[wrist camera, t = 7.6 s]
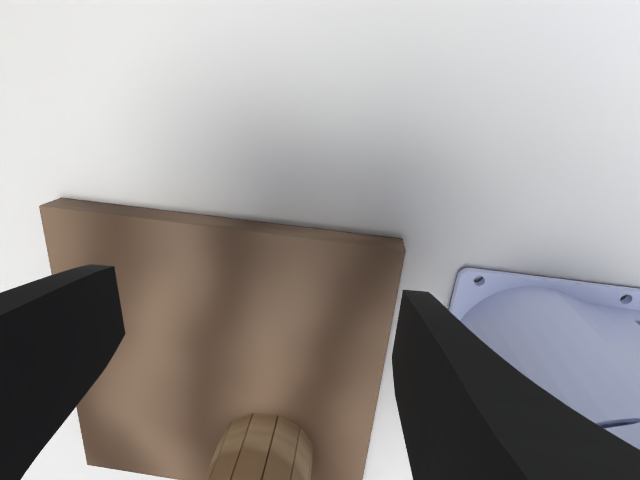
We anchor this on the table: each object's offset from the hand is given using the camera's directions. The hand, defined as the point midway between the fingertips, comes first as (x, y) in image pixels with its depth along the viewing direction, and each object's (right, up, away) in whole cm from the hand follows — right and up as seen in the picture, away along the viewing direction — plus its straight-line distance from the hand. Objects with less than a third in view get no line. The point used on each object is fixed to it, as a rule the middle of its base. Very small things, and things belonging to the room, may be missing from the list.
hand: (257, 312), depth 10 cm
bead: (-2, -11, +14) cm, 18 cm away
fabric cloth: (-4, -5, +14) cm, 15 cm away
